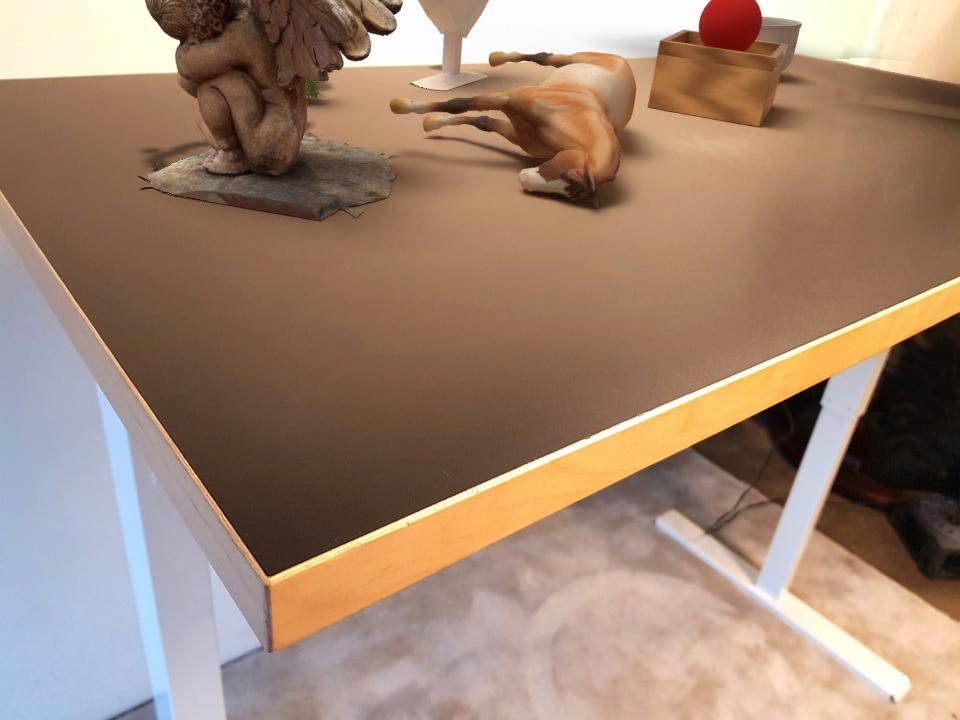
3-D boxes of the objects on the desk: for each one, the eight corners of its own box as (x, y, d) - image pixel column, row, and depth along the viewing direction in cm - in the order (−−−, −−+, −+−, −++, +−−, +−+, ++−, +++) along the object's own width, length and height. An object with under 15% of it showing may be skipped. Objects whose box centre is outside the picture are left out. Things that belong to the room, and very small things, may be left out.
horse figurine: (369, 180, 68) (599, 212, 60) (360, 85, 64) (605, 107, 56) (516, 105, 92) (694, 121, 84) (516, 33, 88) (703, 43, 80)
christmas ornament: (729, 50, 98) (750, -39, 93) (765, 62, 93) (789, -33, 88) (681, 49, 96) (699, -43, 91) (715, 61, 90) (736, -37, 85)
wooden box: (771, 107, 100) (788, 44, 97) (758, 127, 90) (776, 57, 86) (671, 90, 105) (683, 29, 101) (647, 107, 94) (659, 40, 90)
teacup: (776, 86, 114) (791, 26, 109) (703, 72, 118) (716, 14, 114) (799, 75, 124) (814, 20, 120) (732, 63, 129) (744, 9, 125)
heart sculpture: (437, 93, 91) (447, -86, 82) (400, 85, 93) (406, -90, 84) (495, 74, 104) (509, -83, 94) (461, 68, 105) (472, -87, 96)
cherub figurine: (243, 129, 72) (228, -98, 62) (432, 160, 68) (444, -76, 59) (115, 184, 57) (70, -104, 48) (348, 228, 53) (347, -74, 44)
